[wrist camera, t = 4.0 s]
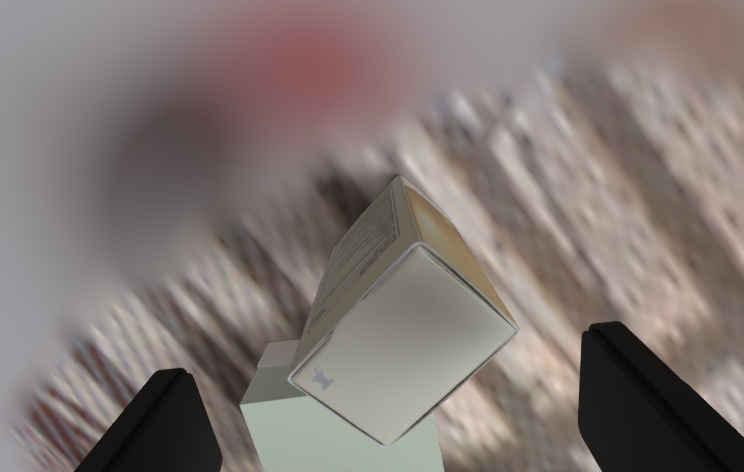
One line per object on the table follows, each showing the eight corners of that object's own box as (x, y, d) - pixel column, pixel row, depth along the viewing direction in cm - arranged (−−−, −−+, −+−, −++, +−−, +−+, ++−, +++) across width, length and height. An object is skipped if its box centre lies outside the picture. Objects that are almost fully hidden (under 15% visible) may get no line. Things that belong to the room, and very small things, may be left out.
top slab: (421, 345, 23) (426, 380, 20) (444, 473, 26) (451, 519, 23) (257, 368, 24) (239, 404, 21) (298, 489, 27) (287, 535, 24)
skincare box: (384, 291, 24) (381, 461, 13) (330, 248, 24) (275, 387, 12) (457, 216, 23) (530, 335, 11) (401, 167, 22) (418, 239, 10)
